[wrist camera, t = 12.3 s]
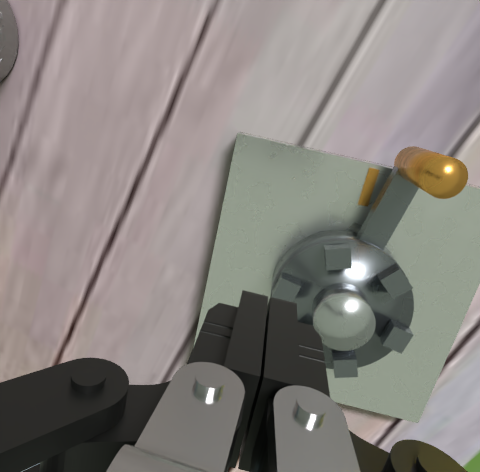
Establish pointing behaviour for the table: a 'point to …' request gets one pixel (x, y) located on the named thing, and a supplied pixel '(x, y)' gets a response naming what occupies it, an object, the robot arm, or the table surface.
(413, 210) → the base plate
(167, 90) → the table surface
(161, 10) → the table surface
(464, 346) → the table surface
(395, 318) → the chuck with crank handle
